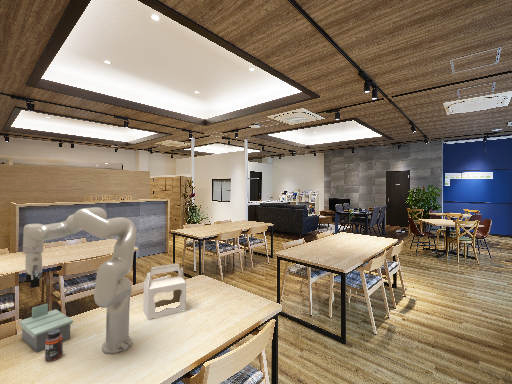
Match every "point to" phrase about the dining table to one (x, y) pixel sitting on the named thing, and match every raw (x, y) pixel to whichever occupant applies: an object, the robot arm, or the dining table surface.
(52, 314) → the lid
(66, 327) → the tub
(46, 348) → the supplement bottle
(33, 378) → the dining table surface
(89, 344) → the dining table surface
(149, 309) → the gable box
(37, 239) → the robot arm
